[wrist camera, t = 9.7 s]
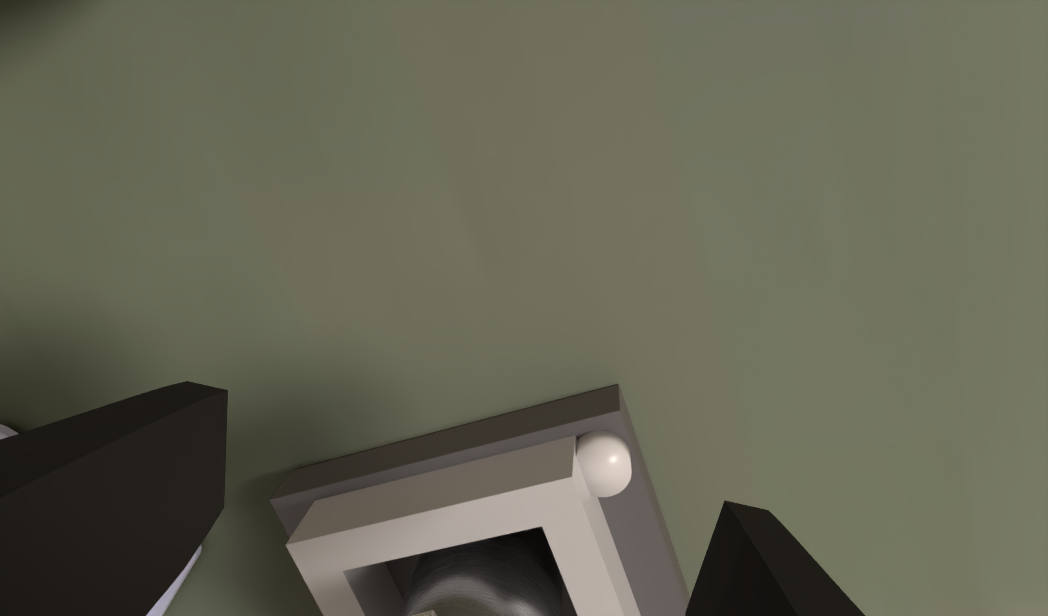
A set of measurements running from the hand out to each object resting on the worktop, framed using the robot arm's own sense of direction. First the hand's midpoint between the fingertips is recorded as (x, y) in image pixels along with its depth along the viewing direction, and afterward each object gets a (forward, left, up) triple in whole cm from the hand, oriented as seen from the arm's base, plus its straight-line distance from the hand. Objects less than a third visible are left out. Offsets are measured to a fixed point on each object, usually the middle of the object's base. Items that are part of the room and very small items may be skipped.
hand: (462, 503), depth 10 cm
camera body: (-8, -4, -10) cm, 13 cm away
